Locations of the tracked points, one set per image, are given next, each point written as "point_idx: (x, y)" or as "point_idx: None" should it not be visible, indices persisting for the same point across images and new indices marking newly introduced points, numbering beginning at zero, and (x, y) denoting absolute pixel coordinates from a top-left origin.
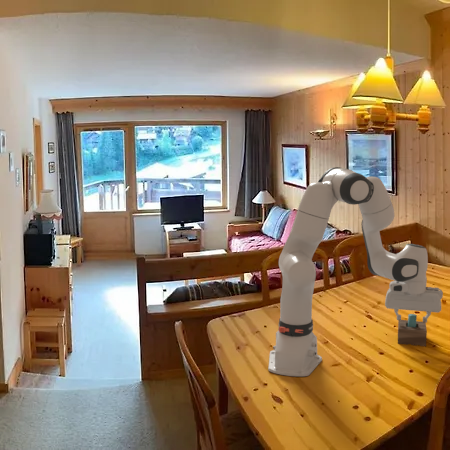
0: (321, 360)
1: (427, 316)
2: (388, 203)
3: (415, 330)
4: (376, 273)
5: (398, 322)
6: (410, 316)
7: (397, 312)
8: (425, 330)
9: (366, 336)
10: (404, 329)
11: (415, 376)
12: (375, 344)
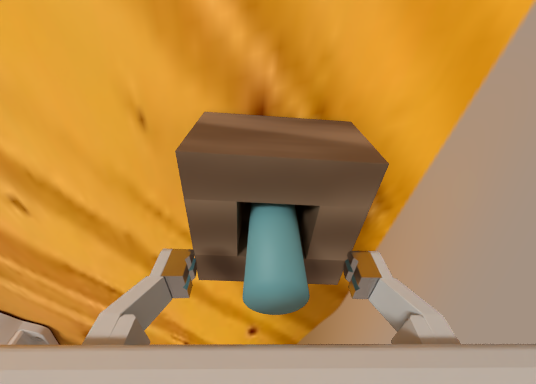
0: (49, 331)
1: (387, 316)
2: None
3: None
4: None
5: (185, 198)
6: (258, 309)
7: (145, 304)
8: (333, 279)
9: (61, 170)
10: (229, 278)
11: (260, 342)
12: (134, 236)
